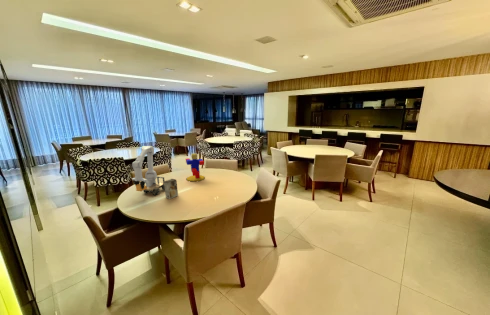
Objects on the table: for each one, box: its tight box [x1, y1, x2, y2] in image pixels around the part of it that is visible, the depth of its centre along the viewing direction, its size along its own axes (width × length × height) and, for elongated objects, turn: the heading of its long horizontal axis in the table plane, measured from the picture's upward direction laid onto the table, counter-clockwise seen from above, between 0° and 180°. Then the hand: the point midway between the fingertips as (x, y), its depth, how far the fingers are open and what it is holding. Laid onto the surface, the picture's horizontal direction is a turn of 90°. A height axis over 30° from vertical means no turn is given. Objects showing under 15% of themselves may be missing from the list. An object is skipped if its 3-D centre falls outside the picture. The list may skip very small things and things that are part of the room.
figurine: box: [185, 153, 206, 183], centre depth 224 cm, size 22×22×30 cm
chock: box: [135, 183, 147, 192], centre depth 177 cm, size 5×7×6 cm
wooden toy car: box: [142, 176, 165, 196], centre depth 189 cm, size 17×14×13 cm
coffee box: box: [164, 178, 179, 200], centre depth 177 cm, size 9×6×16 cm
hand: (140, 188), depth 176 cm, fingers closed on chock, 5 cm apart
